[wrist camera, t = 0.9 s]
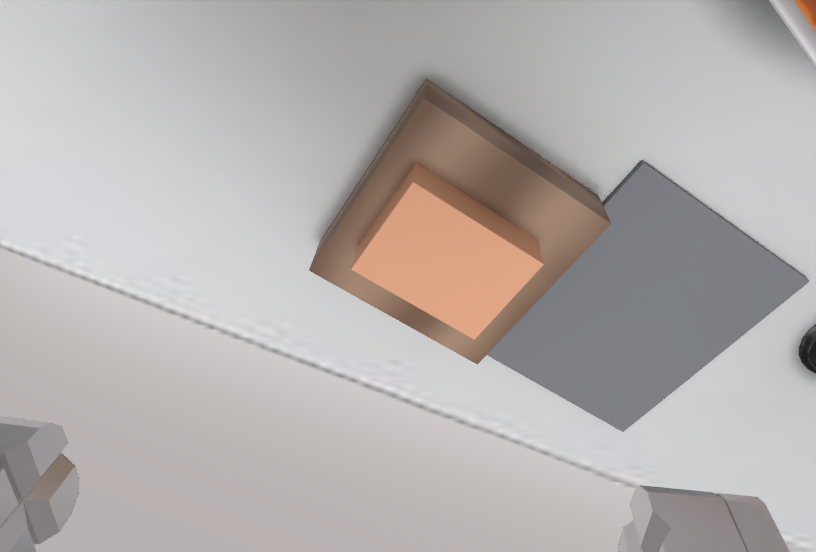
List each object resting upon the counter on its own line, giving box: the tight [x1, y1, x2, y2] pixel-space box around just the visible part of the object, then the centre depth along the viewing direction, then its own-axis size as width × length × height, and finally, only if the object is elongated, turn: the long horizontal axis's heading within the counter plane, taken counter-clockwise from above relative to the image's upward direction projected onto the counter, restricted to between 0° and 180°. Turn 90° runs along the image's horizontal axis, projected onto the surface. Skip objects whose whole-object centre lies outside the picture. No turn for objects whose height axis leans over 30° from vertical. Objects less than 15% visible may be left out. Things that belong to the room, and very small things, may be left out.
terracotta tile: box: [351, 163, 544, 340], centre depth 33 cm, size 8×6×2 cm
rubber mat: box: [487, 160, 809, 432], centre depth 40 cm, size 14×16×1 cm
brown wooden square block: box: [309, 79, 611, 364], centre depth 36 cm, size 12×12×4 cm
